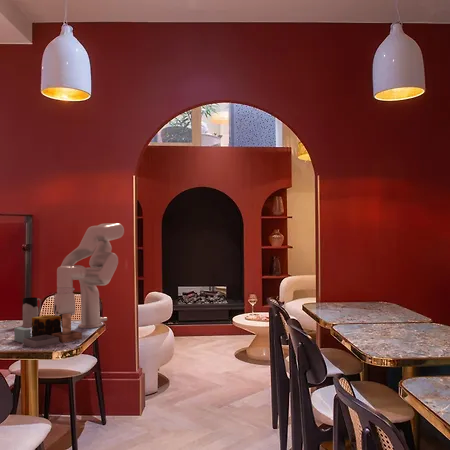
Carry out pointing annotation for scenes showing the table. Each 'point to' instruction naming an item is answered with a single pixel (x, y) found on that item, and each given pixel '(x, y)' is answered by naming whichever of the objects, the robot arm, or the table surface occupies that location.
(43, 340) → the tray
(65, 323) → the dowel
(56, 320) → the candle
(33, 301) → the glass holder
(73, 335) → the socket block
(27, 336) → the block
